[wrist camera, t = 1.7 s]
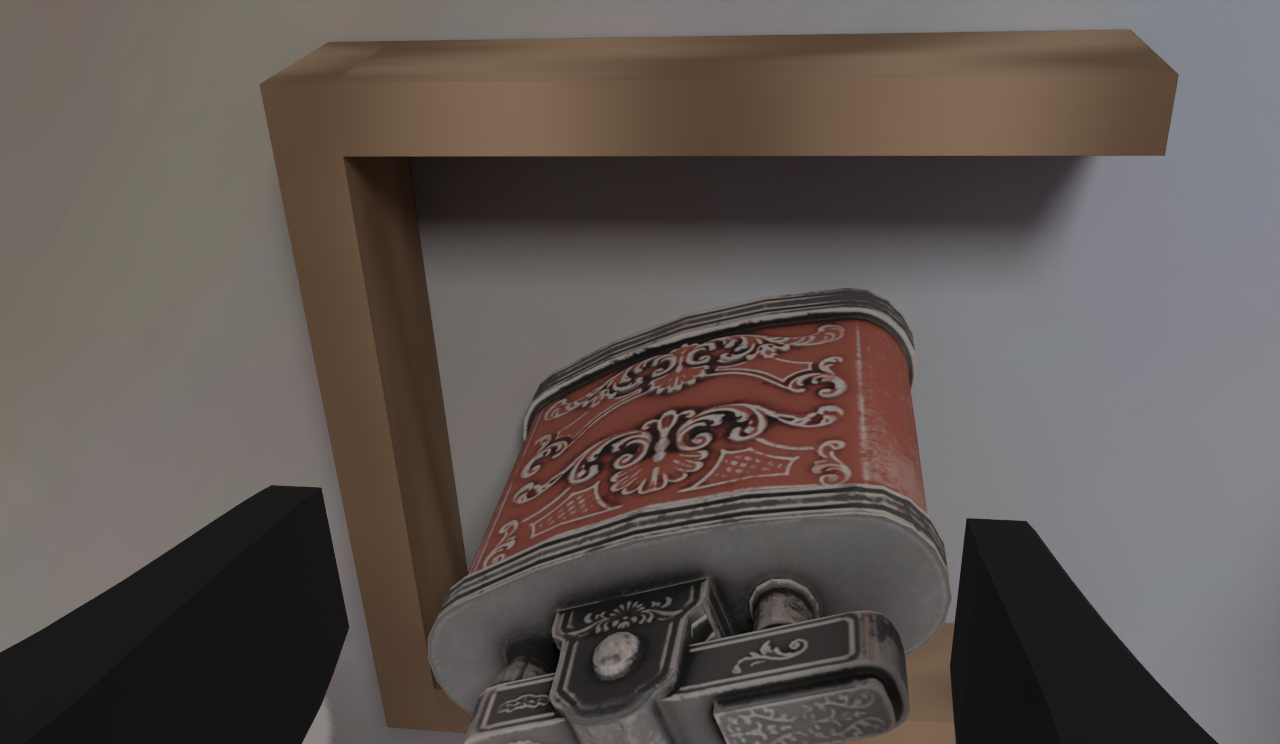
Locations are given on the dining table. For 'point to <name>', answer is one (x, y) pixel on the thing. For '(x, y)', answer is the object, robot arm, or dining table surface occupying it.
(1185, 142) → the dining table surface
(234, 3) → the dining table surface
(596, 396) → the lighter
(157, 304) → the dining table surface
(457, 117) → the wooden u-shaped frame
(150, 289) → the dining table surface
